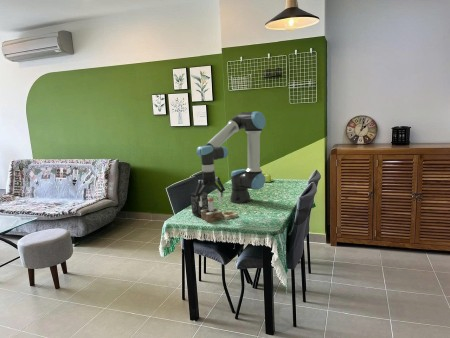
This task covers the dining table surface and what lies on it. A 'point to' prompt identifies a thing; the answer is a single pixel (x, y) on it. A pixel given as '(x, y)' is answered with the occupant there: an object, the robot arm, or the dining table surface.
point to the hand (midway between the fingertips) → (210, 204)
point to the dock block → (211, 215)
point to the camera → (195, 203)
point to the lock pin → (210, 205)
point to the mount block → (229, 214)
